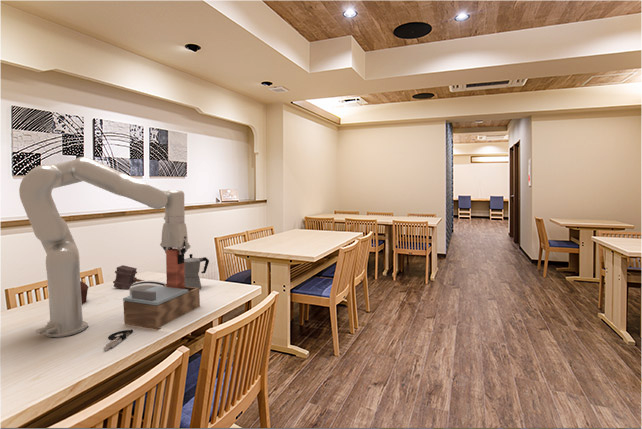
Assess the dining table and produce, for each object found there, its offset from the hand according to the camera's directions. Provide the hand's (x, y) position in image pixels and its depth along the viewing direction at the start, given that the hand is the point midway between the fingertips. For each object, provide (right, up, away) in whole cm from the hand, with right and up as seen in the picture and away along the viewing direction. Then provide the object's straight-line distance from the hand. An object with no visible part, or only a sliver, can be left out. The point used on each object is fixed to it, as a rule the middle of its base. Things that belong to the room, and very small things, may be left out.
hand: (175, 262), depth 150 cm
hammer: (-27, -18, +32) cm, 46 cm away
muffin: (-49, -20, +9) cm, 54 cm away
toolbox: (-2, -21, -5) cm, 22 cm away
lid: (-3, -12, -10) cm, 16 cm away
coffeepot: (-3, -18, +32) cm, 37 cm away
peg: (0, -12, +1) cm, 13 cm away
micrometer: (-10, -24, -28) cm, 38 cm away
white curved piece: (-19, -19, +16) cm, 31 cm away
